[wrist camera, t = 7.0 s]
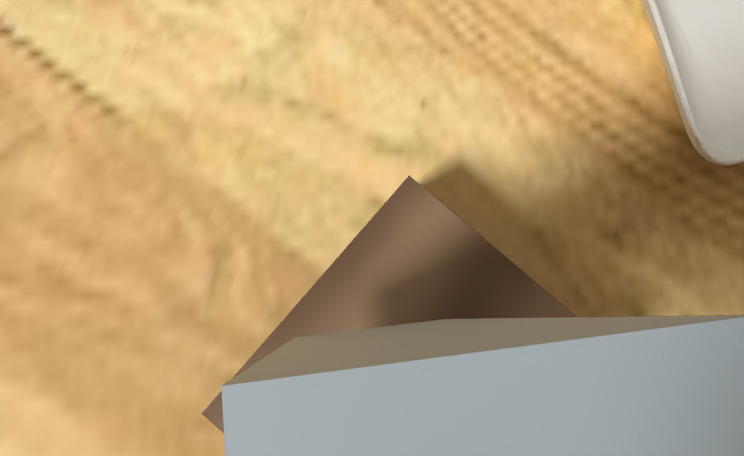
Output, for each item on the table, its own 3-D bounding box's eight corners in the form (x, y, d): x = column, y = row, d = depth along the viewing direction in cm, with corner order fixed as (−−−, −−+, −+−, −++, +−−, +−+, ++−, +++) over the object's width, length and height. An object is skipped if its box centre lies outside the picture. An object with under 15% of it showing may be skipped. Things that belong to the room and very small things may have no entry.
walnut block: (584, 359, 24) (636, 367, 20) (430, 580, 21) (456, 639, 17) (394, 198, 24) (409, 175, 20) (222, 396, 22) (201, 413, 18)
